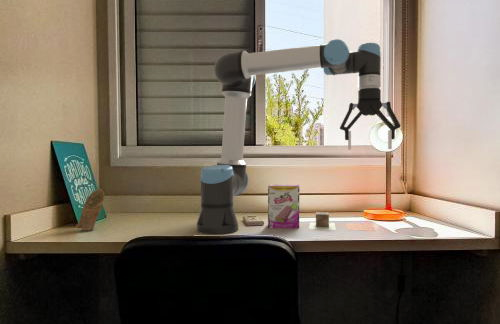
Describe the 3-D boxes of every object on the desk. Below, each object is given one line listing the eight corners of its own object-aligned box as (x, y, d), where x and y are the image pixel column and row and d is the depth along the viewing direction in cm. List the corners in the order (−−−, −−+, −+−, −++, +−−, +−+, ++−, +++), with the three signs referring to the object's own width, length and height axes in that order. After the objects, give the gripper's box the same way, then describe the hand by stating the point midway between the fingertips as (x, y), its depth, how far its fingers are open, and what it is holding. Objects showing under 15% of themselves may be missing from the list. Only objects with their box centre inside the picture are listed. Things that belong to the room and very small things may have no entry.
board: (306, 233, 125) (306, 229, 125) (307, 225, 139) (307, 221, 139) (379, 236, 121) (379, 231, 121) (373, 227, 134) (373, 223, 134)
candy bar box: (267, 232, 129) (267, 185, 128) (268, 229, 134) (268, 184, 133) (299, 232, 128) (299, 185, 127) (299, 229, 133) (299, 184, 132)
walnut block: (315, 226, 129) (315, 214, 129) (316, 224, 134) (316, 212, 134) (328, 227, 128) (328, 214, 128) (328, 224, 133) (328, 212, 133)
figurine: (74, 231, 134) (73, 190, 133) (93, 227, 141) (92, 188, 140) (90, 233, 130) (89, 191, 129) (109, 229, 137) (108, 189, 137)
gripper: (333, 88, 128) (333, 149, 128) (409, 85, 123) (409, 148, 123) (332, 92, 135) (332, 149, 135) (404, 89, 130) (404, 148, 131)
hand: (369, 149), depth 129 cm, fingers open, 13 cm apart
